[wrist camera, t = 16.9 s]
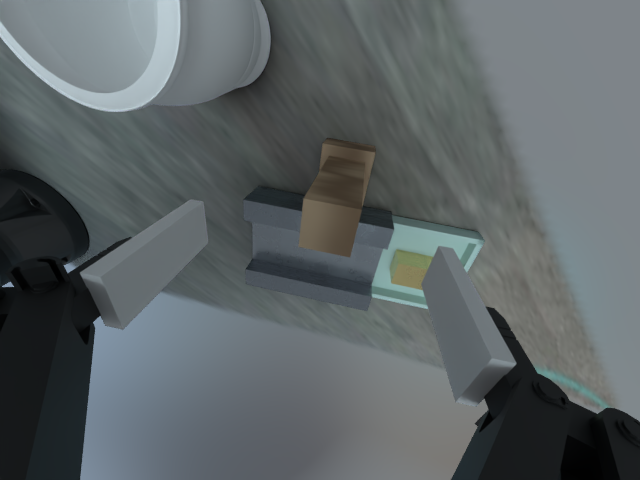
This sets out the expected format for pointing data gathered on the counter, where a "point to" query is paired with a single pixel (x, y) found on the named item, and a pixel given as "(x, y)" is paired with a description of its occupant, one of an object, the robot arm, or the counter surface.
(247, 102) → the counter surface
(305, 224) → the stepped wooden block
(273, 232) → the slot board
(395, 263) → the chip
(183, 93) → the jar
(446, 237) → the tray
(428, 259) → the yellow sponge cube
